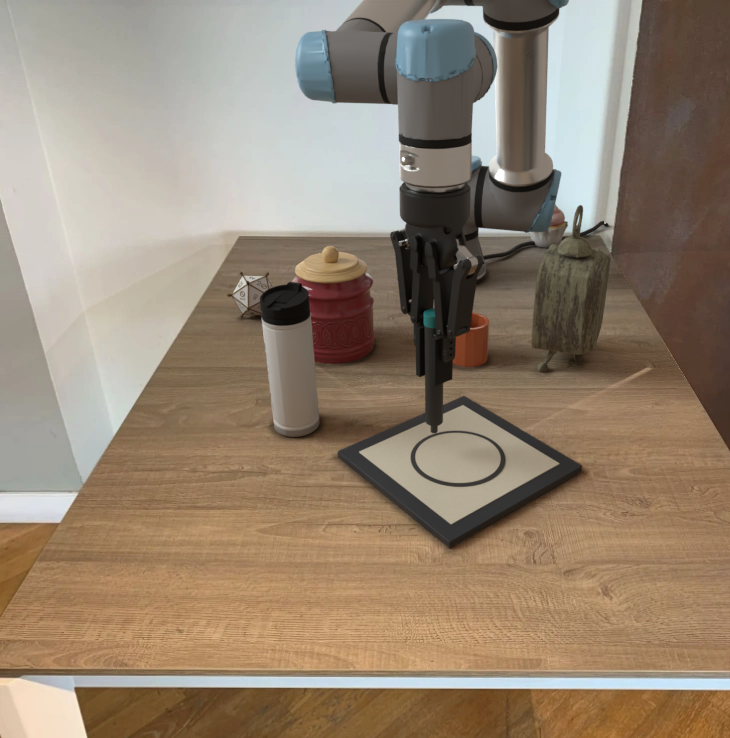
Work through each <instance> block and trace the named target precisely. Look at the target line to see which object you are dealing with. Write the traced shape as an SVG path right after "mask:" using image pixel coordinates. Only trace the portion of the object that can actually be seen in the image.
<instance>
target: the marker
mask: <svg viewBox="0 0 730 738" xmlns="http://www.w3.org/2000/svg"><path fill="white" fill-rule="evenodd" d="M424 325H425V375H424V413H425V422H426V424H428V425H430V426H431V433H437V432H438V426H439V425H441V424H442V422H443V405H444V383H442V384H440V385H438V386H433V385H432V384H431V334H432V333H435V332H436V322H435V307H433V308H431V309H427V310H425V311H424Z"/></svg>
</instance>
